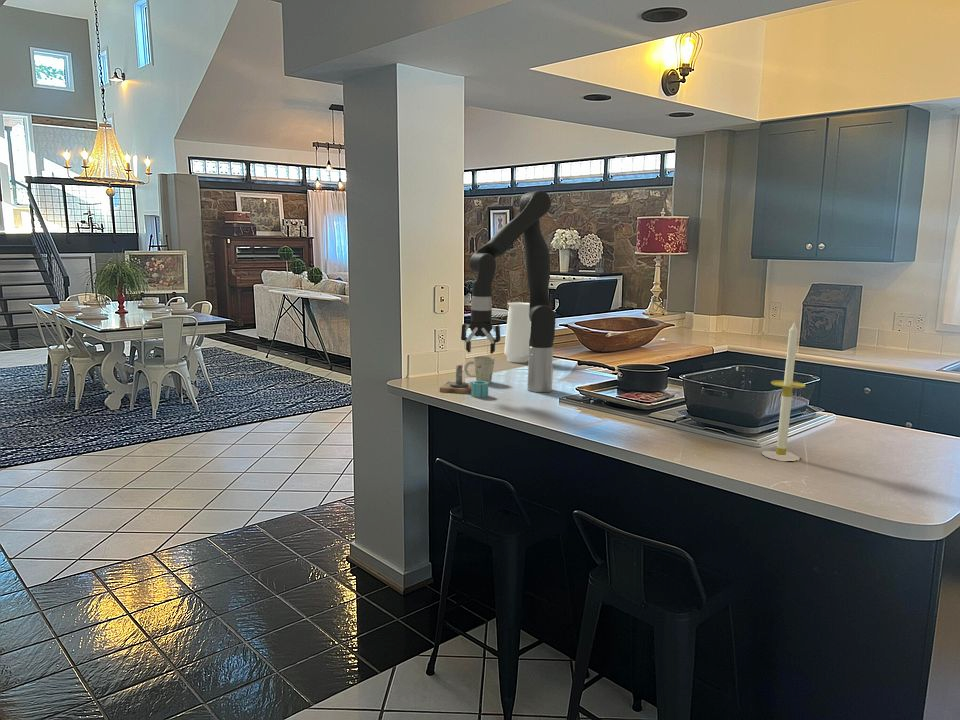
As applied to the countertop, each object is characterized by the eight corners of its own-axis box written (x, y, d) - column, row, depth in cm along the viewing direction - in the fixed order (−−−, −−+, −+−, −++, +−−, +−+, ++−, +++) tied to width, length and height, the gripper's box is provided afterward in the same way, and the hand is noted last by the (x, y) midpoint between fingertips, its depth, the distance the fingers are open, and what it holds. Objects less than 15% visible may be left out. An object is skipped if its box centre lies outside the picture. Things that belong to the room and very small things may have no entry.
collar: (489, 394, 252) (489, 381, 251) (485, 398, 246) (486, 384, 245) (473, 393, 253) (473, 380, 252) (469, 396, 247) (470, 383, 246)
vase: (518, 357, 335) (520, 301, 330) (536, 361, 325) (538, 303, 321) (498, 360, 327) (500, 302, 322) (516, 364, 317) (518, 304, 312)
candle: (771, 448, 191) (784, 317, 185) (807, 457, 184) (822, 321, 177) (754, 455, 184) (767, 319, 178) (790, 464, 177) (805, 323, 171)
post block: (477, 387, 264) (478, 363, 262) (470, 393, 252) (470, 369, 250) (447, 385, 266) (448, 361, 265) (439, 391, 255) (439, 367, 253)
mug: (491, 384, 269) (492, 360, 268) (461, 382, 272) (461, 358, 270) (495, 380, 277) (496, 356, 276) (465, 378, 280) (466, 355, 278)
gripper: (502, 308, 246) (501, 352, 249) (464, 307, 249) (464, 350, 252) (498, 310, 239) (497, 355, 242) (459, 308, 242) (459, 353, 245)
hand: (480, 352), depth 247 cm, fingers open, 8 cm apart
